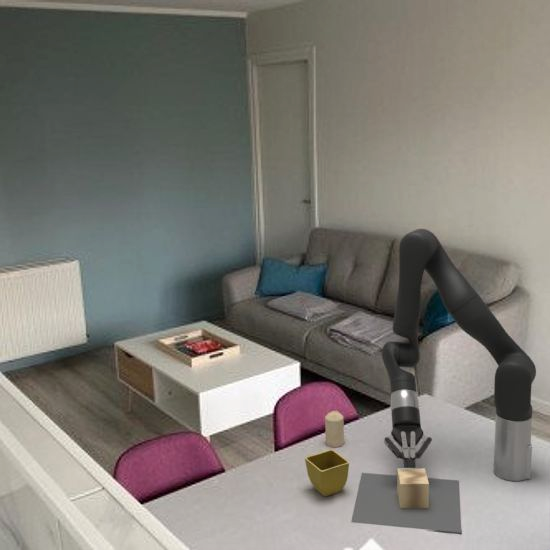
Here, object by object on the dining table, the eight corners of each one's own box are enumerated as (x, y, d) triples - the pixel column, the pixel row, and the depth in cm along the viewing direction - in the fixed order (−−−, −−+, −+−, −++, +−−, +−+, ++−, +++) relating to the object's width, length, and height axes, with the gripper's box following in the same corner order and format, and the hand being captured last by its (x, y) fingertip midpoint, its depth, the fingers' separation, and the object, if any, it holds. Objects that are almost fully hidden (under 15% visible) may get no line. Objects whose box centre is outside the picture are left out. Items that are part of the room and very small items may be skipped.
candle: (342, 448, 207) (342, 417, 205) (324, 446, 208) (323, 416, 206) (344, 439, 212) (344, 409, 210) (327, 438, 213) (326, 408, 211)
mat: (458, 481, 186) (458, 480, 186) (461, 534, 163) (461, 532, 163) (361, 473, 192) (361, 472, 192) (351, 523, 169) (351, 522, 169)
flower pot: (322, 503, 178) (321, 471, 176) (305, 487, 186) (304, 457, 184) (350, 493, 182) (350, 462, 180) (332, 478, 190) (332, 448, 188)
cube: (424, 467, 178) (429, 483, 172) (424, 491, 180) (428, 507, 174) (397, 468, 179) (400, 484, 172) (397, 491, 181) (400, 508, 174)
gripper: (381, 405, 186) (385, 470, 177) (431, 404, 185) (438, 470, 176) (379, 414, 192) (383, 477, 183) (428, 414, 191) (434, 477, 182)
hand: (410, 473), depth 179 cm, fingers closed
